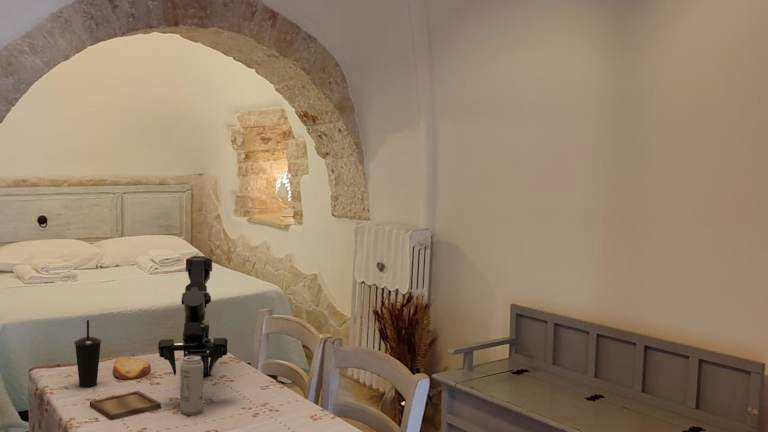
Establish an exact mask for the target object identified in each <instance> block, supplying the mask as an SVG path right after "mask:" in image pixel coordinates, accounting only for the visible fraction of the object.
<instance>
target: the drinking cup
mask: <svg viewBox="0 0 768 432" xmlns="http://www.w3.org/2000/svg"><path fill="white" fill-rule="evenodd" d="M101 343H102V339H101V338H99V337H95V336H90V319H87V320H86V336H84V337H80V338H78V339H76V340H75V341H74V342H73V344H74V345H75V354H76V364H77V365H76V366H77V373H78V374H77V375H78V382H79V383H78V384H79V387H80V388H87V389H88V388H93V387H96V386H97V384H98V377H99V376H98V374H99V366H100V365H99V364H100V354H101Z"/></svg>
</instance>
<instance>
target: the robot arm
mask: <svg viewBox="0 0 768 432" xmlns="http://www.w3.org/2000/svg"><path fill="white" fill-rule="evenodd" d="M185 272H186V273H187V276H188V279H189V284H187V285H186V286H185V289H184V292H182V295H181V305H183V309H184V313H185V315H184V323H183V324H184V325H183V332H182V341H183V343H175V341H174V339H173V338H167V339H165V338H162V339H160V340H159V341H158V356H159V358H161V359H162V358H163V359H164V360H165V361H167V362H169V365H170V367H171V369H172V372H173V376H177V366H176V356H175V355H176V354H175V352H179V351H180V352H183V358H184V357H186V356H200V357H201V360H202V362H203V378H206V377H210V376H212V372H213V369H214V367H215V365H216V363H217V362H218V361H219V359H222V358H223V356H224V357H225V356H228V339H227V338H226V337H213V339H211V338H210V336H209V333H210V320H206V308H207V305H210V303H211V302H212V296H211V295H210V292H208V286H207V285H206V284H207V283H208V281H209V280H210V278H211V272H212V273H213V259H212V258H209V257H207V256H204V255H198V256H196V255H195V256H190V257H189V258H187V259H186V258H185ZM212 340H213V341H212ZM209 359H210V360H209Z"/></svg>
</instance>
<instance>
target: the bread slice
mask: <svg viewBox="0 0 768 432" xmlns="http://www.w3.org/2000/svg"><path fill="white" fill-rule="evenodd" d="M151 371H152V370H151V363H150V362H149V361H146V360H145V359H142V358H137V357H126V356H120V357H118V358H117V359H116V360H115V362H114V365H113V368H112V374H114V376H115V377H116V378H118V379H120V380H124V381H134V380H140V379H142V378H143V377H146V376H148V375H149V374H150V373H151Z"/></svg>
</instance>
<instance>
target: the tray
mask: <svg viewBox="0 0 768 432" xmlns="http://www.w3.org/2000/svg"><path fill="white" fill-rule="evenodd" d="M89 407H90V408H91V409H93V410H95V411H96V412H97V413H99V414H101V415H103V416H104V417H106V418H107V419H109V420H110V421H113V420H117V419H121V418H125V417H129V416H134V415H139V414H143V413H147V412H150V411H155V410H159V409H162V402H160V401H158V400H156V399H154V398H153V397H151V396H149V395H147V394H145V393H143V392H142V391H140V390H136V391H132V392H126V393H120V394H116V395H113V396H108V397H102V398H98V399H93V400H90V401H89Z"/></svg>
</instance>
